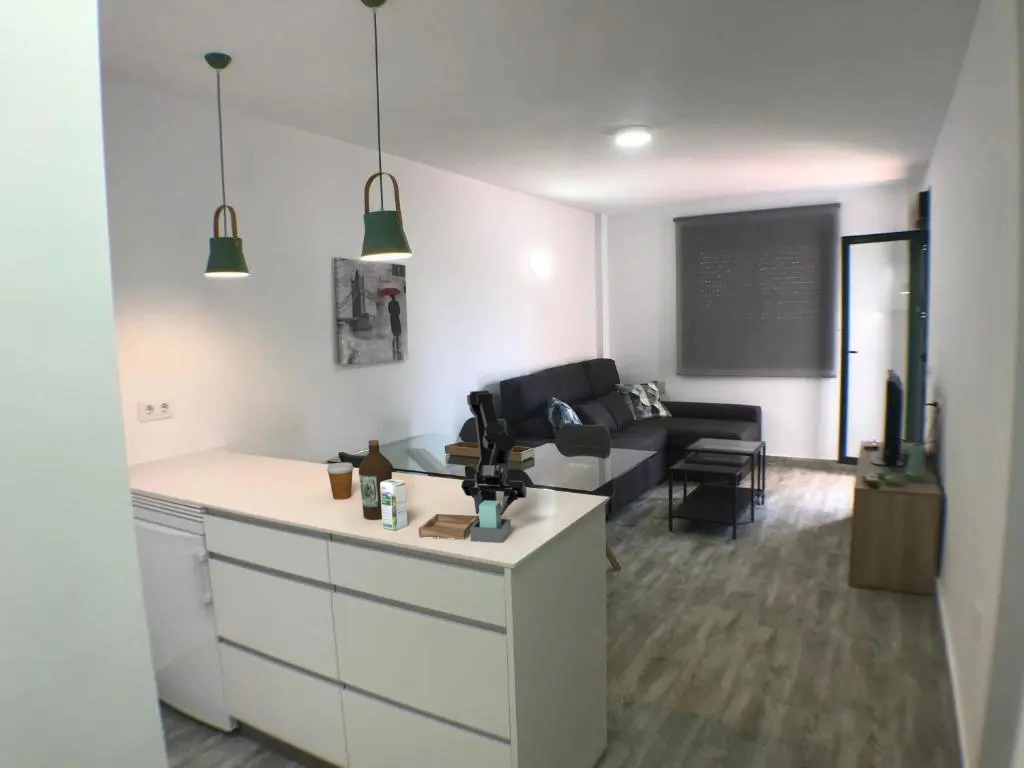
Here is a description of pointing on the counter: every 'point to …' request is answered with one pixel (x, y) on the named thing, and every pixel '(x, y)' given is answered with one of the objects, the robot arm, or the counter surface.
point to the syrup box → (393, 504)
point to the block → (490, 514)
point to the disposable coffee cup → (340, 479)
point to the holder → (490, 532)
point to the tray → (448, 526)
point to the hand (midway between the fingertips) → (488, 514)
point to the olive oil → (373, 480)
